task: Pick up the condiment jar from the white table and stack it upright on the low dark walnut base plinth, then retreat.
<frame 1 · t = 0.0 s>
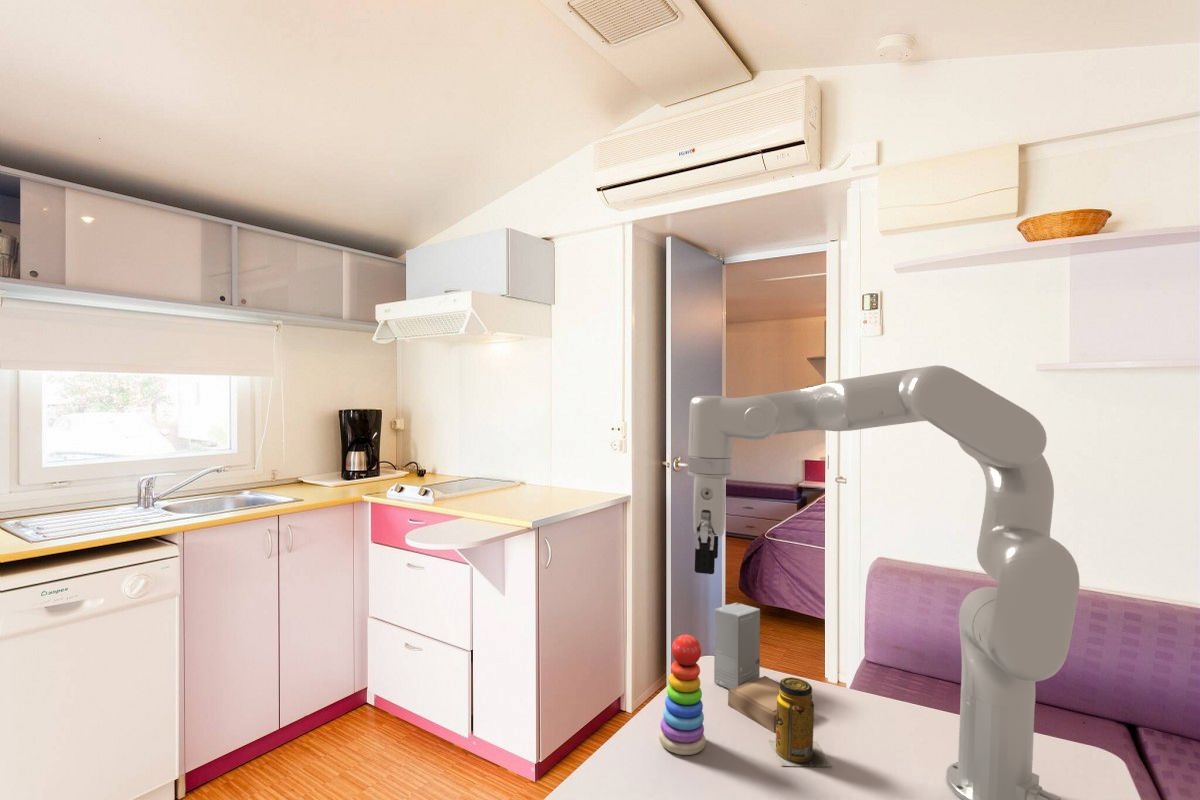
hand: (706, 564, 103), 31 cm above the table, tool pointing down, fingers open, 9 cm apart
skincare box: (736, 683, 125), on the table
stacking toy: (682, 744, 103), on the table
base: (768, 709, 115), on the table
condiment: (799, 755, 101), on the table
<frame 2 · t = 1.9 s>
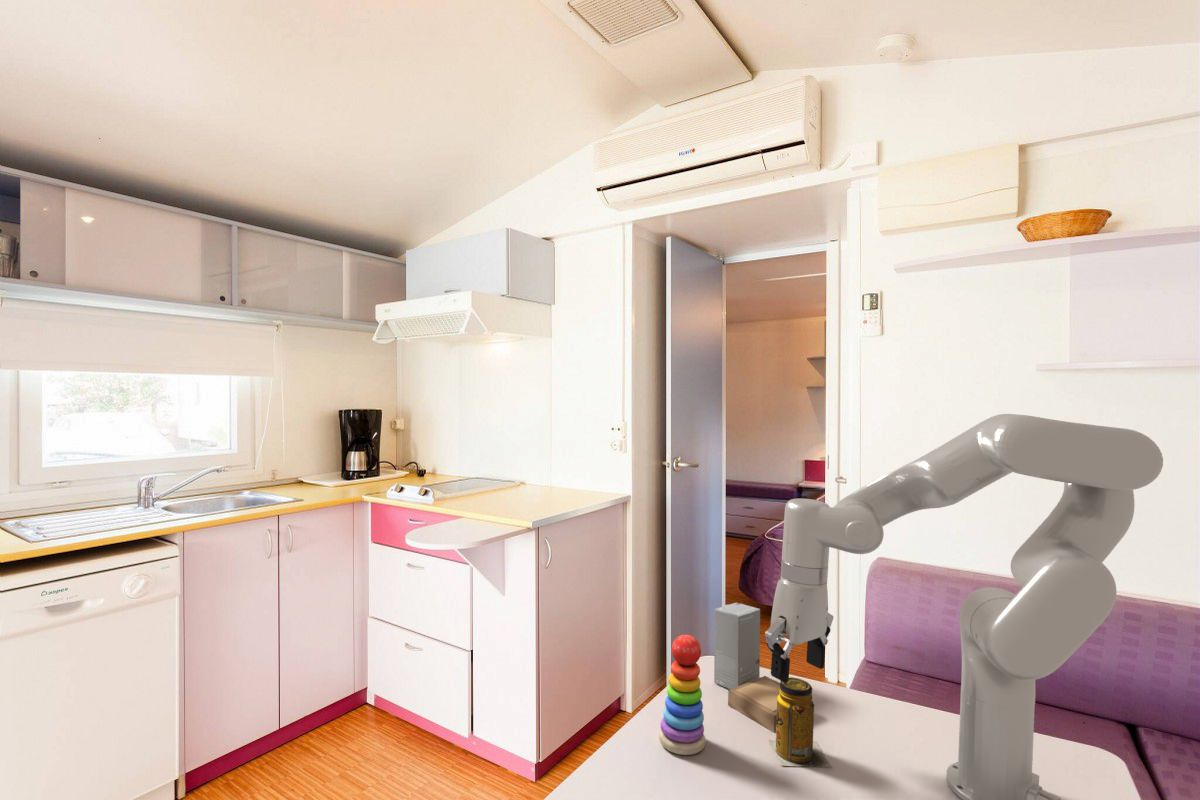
hand: (797, 672, 101), 14 cm above the table, tool pointing down, fingers open, 9 cm apart
nothing on the table moved.
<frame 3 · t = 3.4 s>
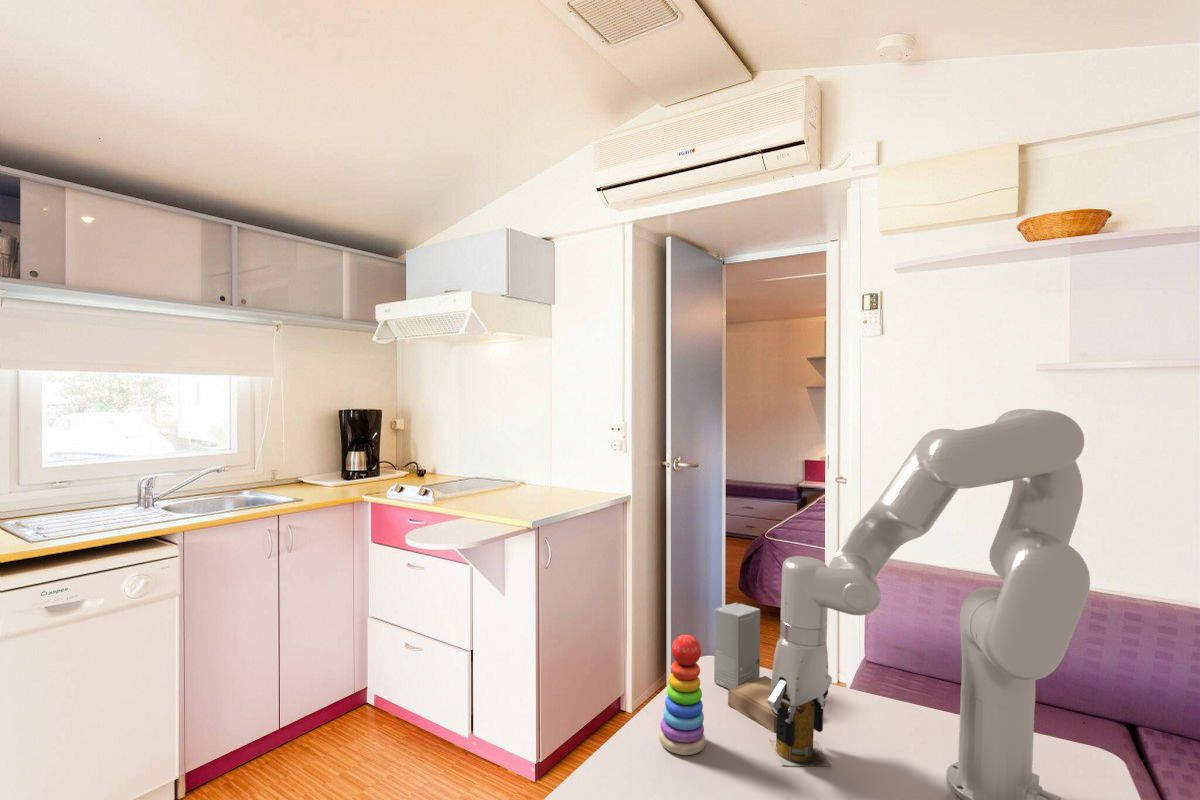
hand: (799, 734, 101), 3 cm above the table, tool pointing down, fingers open, 7 cm apart
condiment: (799, 755, 101), on the table, touching gripper
everything else where it was.
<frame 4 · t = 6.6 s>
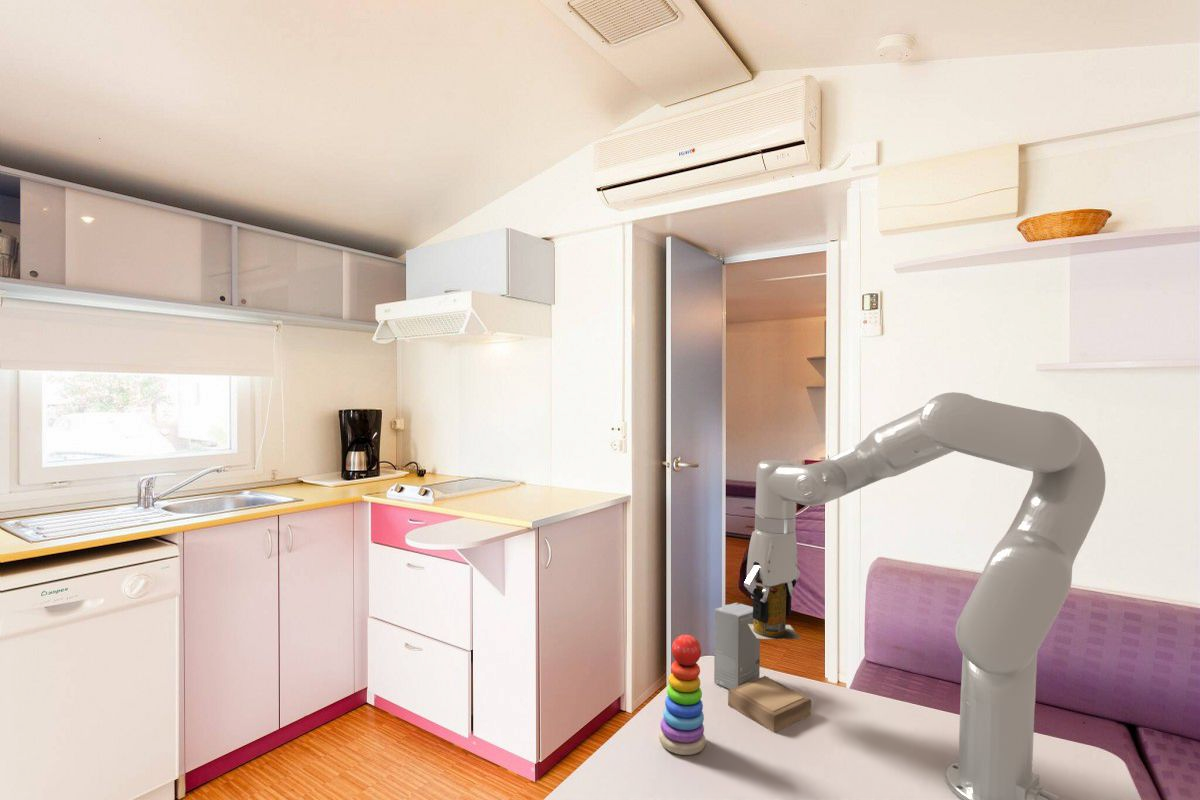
hand: (771, 616, 114), 18 cm above the table, tool pointing down, fingers closed on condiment, 6 cm apart
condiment: (773, 633, 115), point 15 cm above the table, touching gripper
everything else where it was.
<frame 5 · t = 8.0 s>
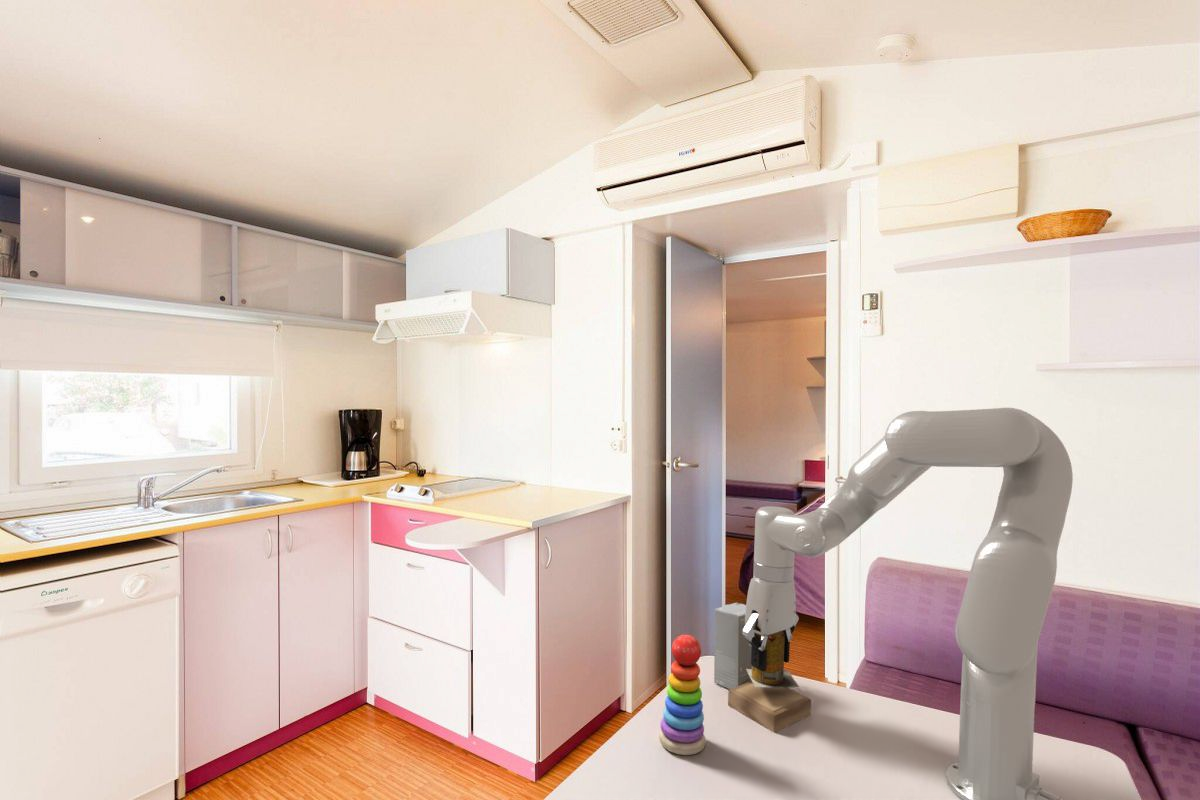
hand: (770, 663, 115), 9 cm above the table, tool pointing down, fingers closed on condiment, 6 cm apart
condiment: (771, 680, 115), point 6 cm above the table, touching gripper
everything else where it was.
when the fingers open (7 cm above the table, at t = 9.3 s): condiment drops 1 cm, resting on base.
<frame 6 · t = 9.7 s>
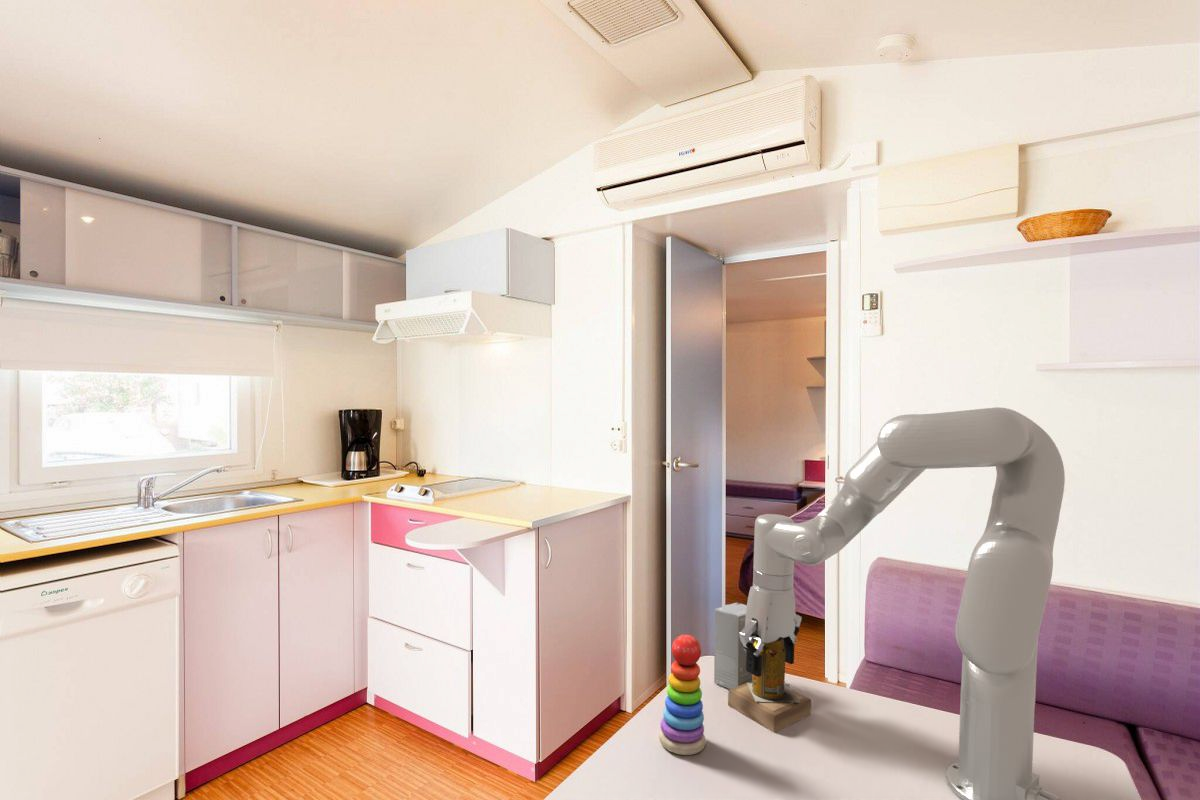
hand: (770, 667, 115), 8 cm above the table, tool pointing down, fingers open, 9 cm apart
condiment: (772, 694, 115), point 3 cm above the table, touching base
everything else where it was.
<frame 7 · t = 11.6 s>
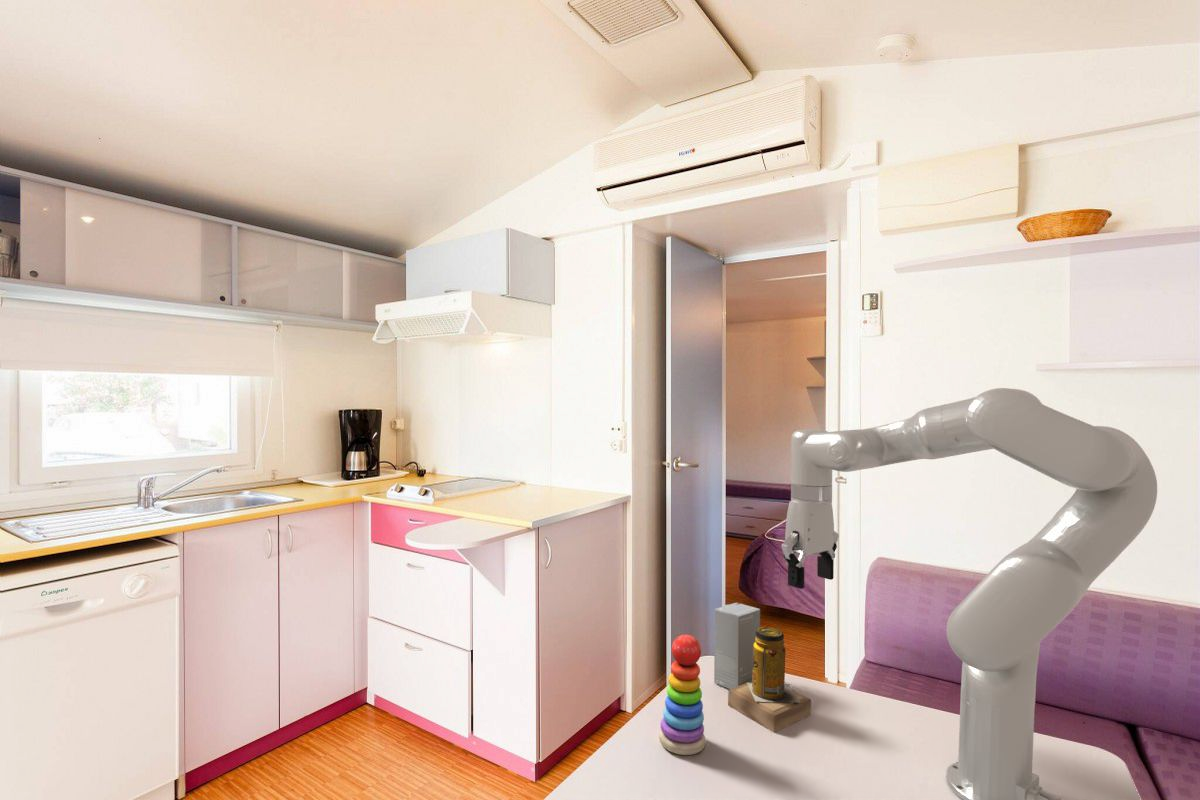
hand: (811, 582, 114), 25 cm above the table, tool pointing down, fingers open, 9 cm apart
nothing on the table moved.
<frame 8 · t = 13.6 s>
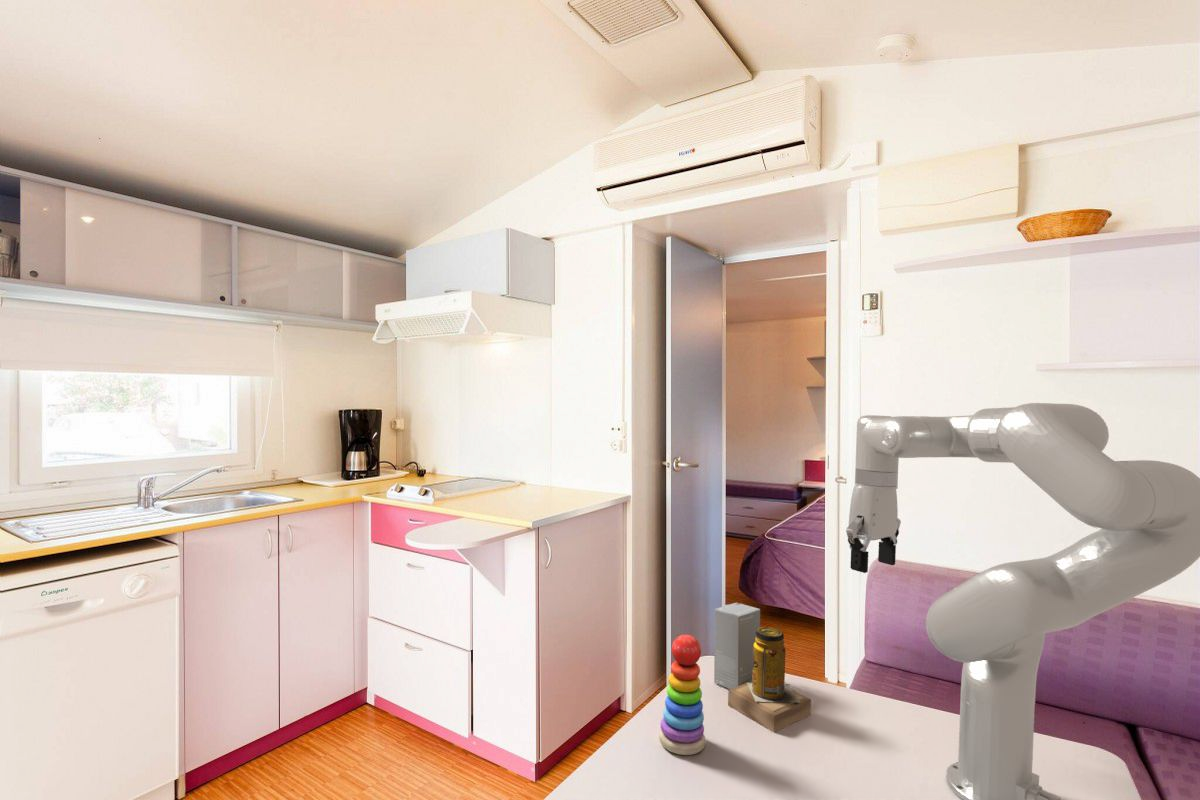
hand: (873, 567, 115), 28 cm above the table, tool pointing down, fingers open, 9 cm apart
nothing on the table moved.
at the end: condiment inside the target area on the base (0.8 cm from its centre), point 2.9 cm above the base's base; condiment tilted 0°; the gripper is holding nothing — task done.
